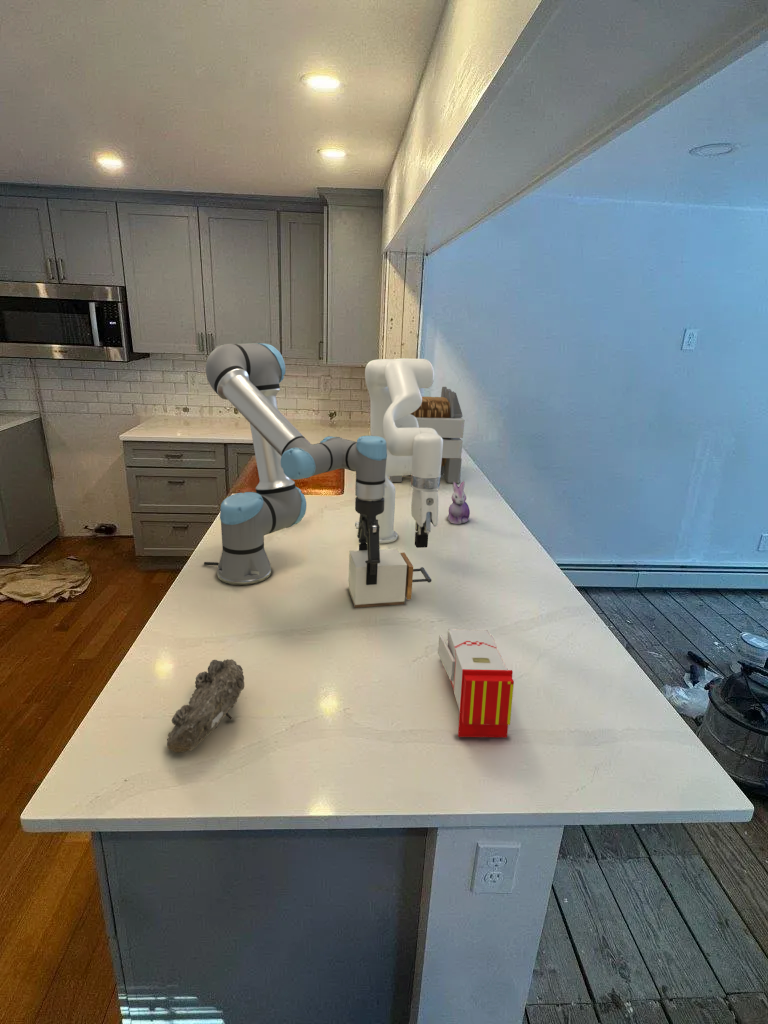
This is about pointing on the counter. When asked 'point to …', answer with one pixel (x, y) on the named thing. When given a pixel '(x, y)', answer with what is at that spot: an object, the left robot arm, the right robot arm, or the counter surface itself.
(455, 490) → the figurine
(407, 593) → the drawer
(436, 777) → the counter surface
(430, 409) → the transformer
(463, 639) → the toy
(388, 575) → the off-white box shell
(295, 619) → the counter surface
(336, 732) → the counter surface
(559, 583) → the counter surface
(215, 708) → the fossil
